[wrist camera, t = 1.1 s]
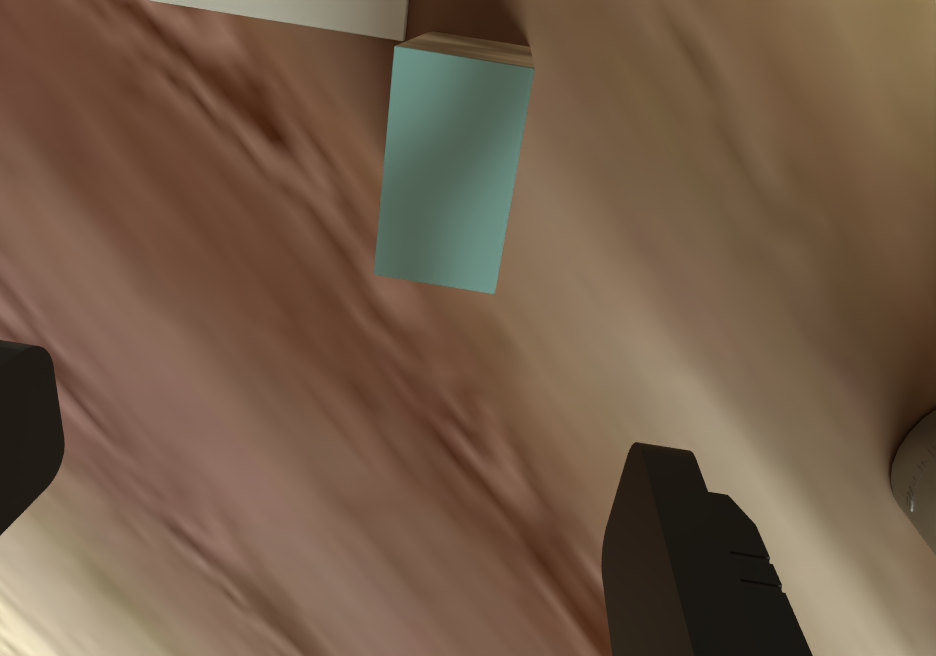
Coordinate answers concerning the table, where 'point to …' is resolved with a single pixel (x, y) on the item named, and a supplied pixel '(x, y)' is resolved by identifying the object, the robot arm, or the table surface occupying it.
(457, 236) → the block
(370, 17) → the mat
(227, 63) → the table surface
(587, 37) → the table surface
